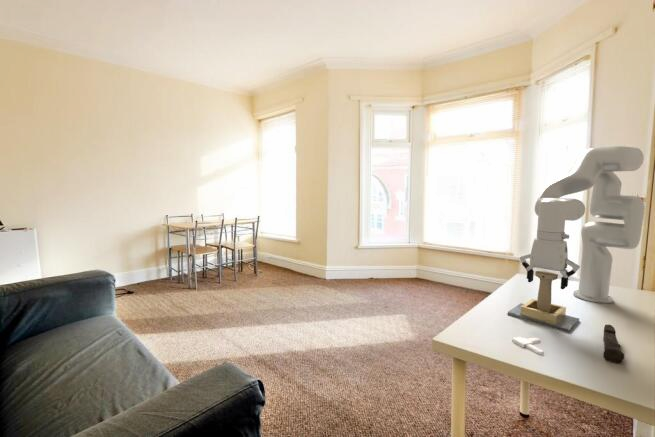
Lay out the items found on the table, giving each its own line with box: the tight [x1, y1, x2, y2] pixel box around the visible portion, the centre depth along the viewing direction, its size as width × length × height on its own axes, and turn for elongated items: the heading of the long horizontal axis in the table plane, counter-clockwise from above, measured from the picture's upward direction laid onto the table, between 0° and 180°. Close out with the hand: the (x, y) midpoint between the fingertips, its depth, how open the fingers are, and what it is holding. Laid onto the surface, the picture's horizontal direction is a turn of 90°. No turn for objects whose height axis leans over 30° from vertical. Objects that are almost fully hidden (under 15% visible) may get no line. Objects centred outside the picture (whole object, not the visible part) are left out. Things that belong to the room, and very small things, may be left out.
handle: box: [534, 270, 559, 313], centre depth 110 cm, size 5×6×15 cm
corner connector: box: [511, 336, 544, 355], centre depth 92 cm, size 8×8×2 cm
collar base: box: [507, 298, 580, 333], centre depth 111 cm, size 13×18×4 cm
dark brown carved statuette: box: [602, 324, 625, 365], centre depth 90 cm, size 19×4×5 cm, turn 140°
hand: (546, 284), depth 110 cm, fingers open, 9 cm apart
